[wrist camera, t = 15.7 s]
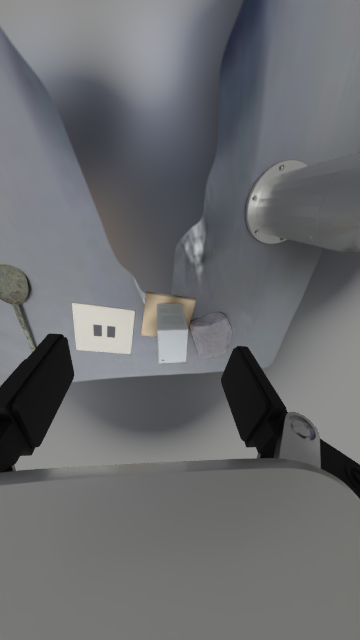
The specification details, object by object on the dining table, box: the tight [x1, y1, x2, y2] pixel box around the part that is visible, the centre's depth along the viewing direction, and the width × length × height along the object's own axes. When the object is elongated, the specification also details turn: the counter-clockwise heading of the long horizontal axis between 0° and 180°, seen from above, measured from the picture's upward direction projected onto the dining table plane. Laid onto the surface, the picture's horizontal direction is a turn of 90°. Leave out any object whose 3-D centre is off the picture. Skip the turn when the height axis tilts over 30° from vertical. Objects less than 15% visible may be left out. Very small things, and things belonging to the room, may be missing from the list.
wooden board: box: [141, 292, 196, 337], centre depth 42 cm, size 11×11×1 cm
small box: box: [157, 303, 189, 363], centre depth 37 cm, size 8×6×10 cm
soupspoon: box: [0, 265, 36, 352], centre depth 38 cm, size 22×3×7 cm
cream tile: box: [72, 303, 135, 354], centre depth 43 cm, size 13×13×1 cm
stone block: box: [189, 312, 232, 359], centre depth 46 cm, size 12×5×10 cm
